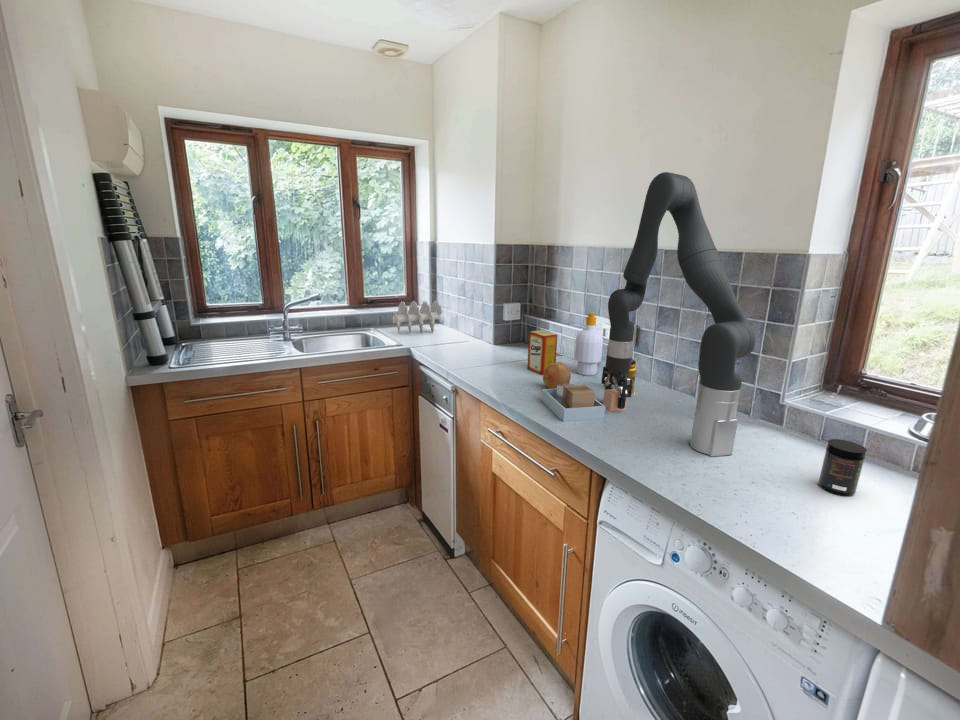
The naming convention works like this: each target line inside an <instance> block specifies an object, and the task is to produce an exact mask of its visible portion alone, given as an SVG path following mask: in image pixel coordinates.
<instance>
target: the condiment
mask: <svg viewBox="0 0 960 720" xmlns="http://www.w3.org/2000/svg"><path fill="white" fill-rule="evenodd" d="M636 364H637V362H636V360H635V359H633V358H632V361H631V369H630V370H629V371H627V373H626V376H627V378H632V391H631V397H633V396H635V395H639V392H635V391H634V390H635V381H636V372H637V368H636ZM622 386H623V385H622ZM622 386H621V387H622ZM633 392H634V394H633ZM627 393H628V390H627ZM635 393H636V394H635ZM632 394H633V395H632Z"/></svg>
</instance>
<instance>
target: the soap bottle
mask: <svg viewBox="0 0 960 720" xmlns="http://www.w3.org/2000/svg"><path fill="white" fill-rule="evenodd" d="M587 314H588V316H586V318H585V319H586V320H585V321H586V322H585V329H581V330H580V331H578V333H577V336H576V339H575V349H574V350H575V351H574V359H575V361H577V367H576V371H577V373H578V374H579V375H582V376H594V375H596V374H597V372H598V363H601V361H602V358H603V357H602V356H603V345H604V339H603V335H602V333H601V332H600V331H598V330H596V323H597V317H596V313H595V312H588V313H587Z"/></svg>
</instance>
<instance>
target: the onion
mask: <svg viewBox="0 0 960 720" xmlns="http://www.w3.org/2000/svg"><path fill="white" fill-rule="evenodd" d="M571 375H572V374H571V372H570V369H569V367H568V366H567V365H566V364H564V363H563V362H560V361H559V362H557V361H556V363H553V364H551V365H549V366H548V367H547V368H546V369H545V371H544V374H543V375H542V380H543V383H544V386H545V387H546V388H547V389H555V388H557V385H558V384H563V383H567V384H570V381H571V377H572V376H571Z"/></svg>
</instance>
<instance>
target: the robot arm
mask: <svg viewBox="0 0 960 720" xmlns="http://www.w3.org/2000/svg"><path fill="white" fill-rule="evenodd" d="M667 211H668V212H669V213H670V215H671V217H672V218H673V221H674V223H675V226H676V229H677V233H678V240H677V241H678V242H677V248H676V249H677V252H676V255H677V257H676V258H677V261H678V265H679V267H680V270H681V272H682V276H683V278H684V280H685V283H686V284H687V285H688V287H689V288H690V289H691V290H692V291H693V293H694V294H695V295H696V296H697V297H698V298H699V300H701V301H702V303H704V304H705V306H706V308H707V309H708V311H709V312H710V314H711V316H712V319H713V322H714V323H713V324H711V325H709V326H708V327H707V328H706V329H705V331H704V332H703V334H702V337H701V341H700V346H699V347H700V349H699V357H698V358H699V360H698V367H697V368H698V373H699V386H698V391H697V397H696V402H695V403H696V404H695V410H694V417H693V423H692V424H693V425H692V429H691V430H692V431H691V436H690V437H691V438H690V443H689V444H690V447H691V448H692V449H694V450H695V451H697V452H699V453H702V454H705V455H708V456H710V457H720V456H721V457H722V456H727V455H728V456H729V455H730V456H731V455H733V451H734V445H735V441H736V440H735V439H736V434H737V430H738V423H739V420H738V419H737V418H736V416H737V411H738V410H737V409H738V404H739V400H740V395H741V388H742V384H743V379H742V377H741V375H739V374H737V373H736V372H735V369H736V360H737V359H740V358H745V357H748V355H749V356H750V354H751V353H752V352H753V351H754V349H755V345H756V336H755V332H754V329H753V327H752V325H751V323H750V322H749V319H748V318H747V316H746V314H745V313H744V310H743V309H742V307H741V305H740V303H739V301H738V299H737V297H736V295H735V292H734V289H733V287H732V285H731V283H730V280H729V278H728V276H727V273H726V271H725V267H724V265H723V262H722V259H721V257H720V254H719V252H718V249H717V247H716V245H715V242H714V241H713V238H712V235H711V233H710V230H709V228H708V225H707V224H706V220H705V219H704V215H703V212H702V208H701V204H700V201H699V197H698V193H697V190H696V186H695V183H694V182H693V181H692V179H691V178H689V177H688V176H685V175H683V174H677V173H674V172H668V171H666V172H661V173H659V174H657V175H656V176H655V177H654V178H652V180H651V182H650V183H649V186H648V188H647V191H646V194H645V199H644V204H643V208H642V211H641V216H640V221H639V225H638V229H637V234H636V238H635V240H634V244H633V247H632V250H631V253H630V255H629V257H628V259H627V262H626V265H625V267H624V271H623V273H622V274H623V276H622V277H623V278H624V280H626V283H625V287H624V288H619V289H615V290H613V292H611V294H610V295H609V298H608V301H607V310H608V311H607V312H608V317H609V318H608V319H609V324H610V327H609V336H608V342H607V348H606V358H605V365H604V366H603V368H602V372H601V373H602V374H601V380H600V381H601V382H600V383H601V384H602V385H603V388H604V389H613V387H615V388H614V389H616V391H617V392H618V396H619V397H618V404H617V408H618V409H624V408H625V409H626V407H625V402H626V403H627V398H631V397H632V396H631V391H632V378H627V376H626V373H627V371H629V370H630V369H631V361H632V359H633V352H634V336H635V323H634V322H633V321H631V320H630V312H634V311H637V310H638V309H639V308H640V307H641V305H642V303H643V301H644V299H645V295H646V289H647V283H648V279H649V277H650V275H651V272H652V270H653V268H654V265H655V263H656V261H657V260H656V259H657V256H658V244H659V242H658V241H659V232H660V231H659V230H660V228H661V227H660V226H661V224H662V223H661V222H662V220H663V218H664V217H665V214H666V213H667ZM622 385H623V386H622ZM621 386H622V387H621ZM621 390H622V394H621ZM627 390H628V393H627Z"/></svg>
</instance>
